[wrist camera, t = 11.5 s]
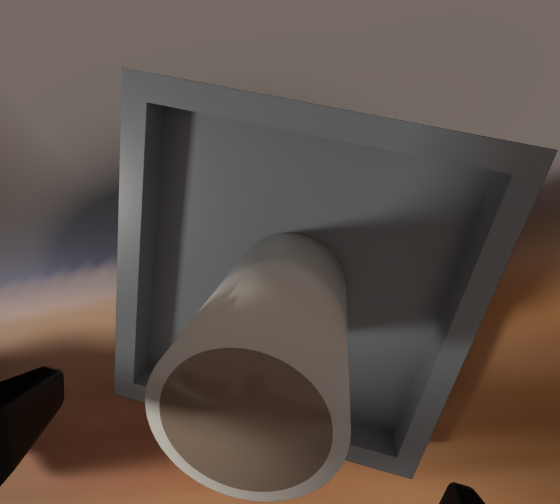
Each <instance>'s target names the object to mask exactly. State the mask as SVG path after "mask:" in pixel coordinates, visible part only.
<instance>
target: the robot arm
mask: <svg viewBox="0 0 560 504" xmlns="http://www.w3.org/2000/svg"><path fill="white" fill-rule="evenodd" d="M63 400H64V376H63V372H62V371H61V370H59V369H56V368H52V367H48V366H43V367H40V368H37V369H34V370H32V371H29V372H26V373H23V374H21V375H18V376H15V377H12V378H10V379H7V380H4V381H1V382H0V486H1V485H2V484H3V483H4V482H5V480H6V479H7V478H8V477H9V476H10V474H11V473H12V472H13V471H14V469H15V468H16V467H17V466H18V464H19V463H20V462H21V460H22V459H23V458H24V456H25V455H26V454H27V452H28V451H29V450H30V448H31V447H32V445H33V444H34V443H35V441H36V440H37V439H38V437H39V436H40V435H41V433H42V432H43V430H44V429H45V428H46V426H47V425H48V424H49V422H50V421H51V420H52V418H53V417H54V415H55V414H56V413H57V411H58V410H59V409H60V407H61V405H62V403H63ZM439 504H485V503H484V502H483V500H482V499H481V498H480V497H479V495H478V494H477V493H476V492H475V490H473V489H472V488H471V487H469V486H465V485H462V484H458V483H455V482H452V483H450V484H449V485H448V487H447V489H446V491H445V493H444V495H443V497H442V499H441V501H440V503H439Z"/></svg>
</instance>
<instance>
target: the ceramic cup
mask: <svg viewBox="0 0 560 504" xmlns="http://www.w3.org/2000/svg"><path fill="white" fill-rule="evenodd" d="M145 409H146V415H147V419H148V422H149V425H150V428H151V431H152V433H153V435H154V437H155V439H156V441H157V442H158V444H159V445H160V447H161V449H162V450H163V451H164V452H165V454H166V455H167V456H168V457H169V458H170V459H171V461H172V462H173V463H174V464H175V465H176V466H177V467H179V468H180V469H181V470H182V471H183V472H185V473H186V474H187V475H189V476H190V477H191V478H193V479H194V480H196V481H197V482H199V483H201V484H203V485H204V486H206V487H208V488H211V489H213V490H215V491H217V492H220V493H223V494H225V495H228V496H232V497H236V498H240V499H244V500H251V501H263V502H271V501H283V500H290V499H294V498H297V497H301V496H304V495H306V494H308V493H311V492H313V491H315V490H316V489H318V488H320V487H322V486H323V485H324V484H325V483H327V482H328V481H329V480H330V479H331V478H332V477H333V476H334V475H335V474H336V473H337V472H338V470H339V469H340V467H341V466H342V464H343V463H344V460H345V458H346V456H347V453H348V449H349V445H350V438H351V419H350V389H349V358H348V328H347V298H346V280H345V275H344V272H343V269H342V267H341V265H340V263H339V261H338V259H337V258H336V257H335V255H334V254H333V253H332V252H331V251H330V250H329V249H328V248H327V247H326V246H324V245H323V244H322V243H320V242H319V241H317V240H315V239H313V238H311V237H308V236H305V235H301V234H296V233H279V234H274V235H270V236H268V237H265V238H263V239H261V240H259V241H257V242H256V243H255V244H253V245H252V246H251V247H250V248H249V249H248V250H247V251H246V253H245V254H244V255H243V256H242V258H241V259H240V260H239V261H238V263H237V264H236V265H235V266H234V268H233V269H232V270H231V271H230V273H229V274H228V275H227V276H226V278H225V279H224V280H223V281H222V283H221V284H220V285H219V286H218V288H217V289H216V290H215V291H214V293H213V294H212V295H211V296H210V298H209V299H208V300H207V301H206V303H205V304H204V305H203V306H202V308H201V309H200V310H199V311H198V313H197V314H196V315H195V316H194V318H193V319H192V320H191V321H190V323H189V324H188V325H187V326H186V328H185V329H184V330H183V331H182V333H181V334H180V335H179V336H178V338H177V339H176V340H175V341H174V343H173V344H172V345H171V346H170V348H169V349H168V350H167V351H166V353H165V354H164V355H163V356H162V358H161V359H160V360H159V362H158V363H157V364H156V366H155V367H154V369H153V371H152V373H151V375H150V377H149V380H148V383H147V387H146V394H145Z"/></svg>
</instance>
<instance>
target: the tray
mask: <svg viewBox="0 0 560 504" xmlns="http://www.w3.org/2000/svg"><path fill="white" fill-rule="evenodd" d="M121 96H122V97H121V99H122V100H121V136H120V177H119V217H118V218H119V219H118V257H117V297H116V338H115V378H114V394H117V395H120V396H124V397H127V398H131V399H134V400H138V401H141V402H145V394H146V387H147V383H148V380H149V377H150V375H151V373H152V371H153V369H154V367H155V366H156V364H157V363H158V362H159V360H160V359H161V358H162V356H163V355H164V354H165V353H166V351H167V350H168V349H169V348H170V346H171V345H172V344H173V343H174V341H175V340H176V339H177V338H178V336H179V335H180V334H181V333H182V331H183V330H184V329H185V328H186V326H187V325H188V324H189V323H190V321H191V320H192V319H193V318H194V316H195V315H196V314H197V313H198V311H199V310H200V309H201V308H202V306H203V305H204V304H205V303H206V301H207V300H208V299H209V298H210V296H211V295H212V294H213V293H214V291H215V290H216V289H217V288H218V286H219V285H220V284H221V283H222V281H223V280H224V279H225V278H226V276H227V275H228V274H229V273H230V271H231V270H232V269H233V268H234V266H235V265H236V264H237V263H238V261H239V260H240V259H241V258H242V256H243V255H244V254H245V253H246V251H247V250H248V249H249V248H250V247H251V246H252V245H253V244H255V243H256V242H257V241H259V240H261V239H263V238H265V237H268V236H270V235H274V234H279V233H296V234H301V235H305V236H308V237H311V238H313V239H315V240H317V241H319V242H320V243H322V244H323V245H324V246H326V247H327V248H328V249H329V250H330V251H331V252H332V253H333V254H334V255H335V257H336V258H337V259H338V261H339V263H340V265H341V267H342V269H343V272H344V275H345V280H346V298H347V328H348V358H349V389H350V419H351V438H350V445H349V449H348V453H347V456H346V458H345V460H347V461H350V462H354V463H357V464H361V465H364V466H368V467H371V468H375V469H378V470H382V471H385V472H389V473H392V474H396V475H399V476H402V477H406V478H409V479H412V478H413V476H414V473H415V471H416V469H417V466H418V464H419V462H420V460H421V457H422V455H423V453H424V451H425V448H426V446H427V444H428V442H429V439H430V437H431V435H432V433H433V430H434V428H435V426H436V424H437V421H438V419H439V417H440V415H441V412H442V410H443V408H444V406H445V403H446V401H447V399H448V397H449V394H450V392H451V390H452V388H453V385H454V383H455V381H456V379H457V376H458V374H459V372H460V369H461V367H462V365H463V363H464V360H465V358H466V356H467V354H468V351H469V349H470V347H471V345H472V342H473V340H474V338H475V336H476V333H477V331H478V329H479V327H480V324H481V322H482V320H483V318H484V315H485V313H486V311H487V309H488V306H489V304H490V302H491V300H492V297H493V295H494V293H495V291H496V288H497V286H498V284H499V281H500V279H501V277H502V275H503V272H504V270H505V268H506V266H507V263H508V261H509V259H510V257H511V254H512V252H513V250H514V248H515V245H516V243H517V241H518V239H519V236H520V234H521V232H522V230H523V227H524V225H525V223H526V221H527V218H528V216H529V214H530V212H531V209H532V207H533V205H534V203H535V200H536V198H537V196H538V194H539V191H540V189H541V187H542V184H543V182H544V180H545V178H546V175H547V173H548V171H549V169H550V166H551V164H552V162H553V160H554V157H555V155H556V153H557V150H554V149H549V148H543V147H538V146H533V145H528V144H522V143H517V142H512V141H507V140H501V139H496V138H491V137H486V136H480V135H475V134H470V133H464V132H459V131H454V130H449V129H443V128H438V127H433V126H428V125H423V124H417V123H412V122H406V121H401V120H396V119H391V118H386V117H380V116H375V115H369V114H365V113H359V112H354V111H348V110H344V109H338V108H333V107H327V106H323V105H317V104H312V103H307V102H301V101H296V100H291V99H286V98H280V97H274V96H270V95H265V94H259V93H254V92H249V91H243V90H238V89H233V88H228V87H223V86H217V85H212V84H207V83H202V82H196V81H191V80H186V79H181V78H175V77H170V76H165V75H159V74H154V73H149V72H143V71H139V70H133V69H128V68H122V95H121Z"/></svg>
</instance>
